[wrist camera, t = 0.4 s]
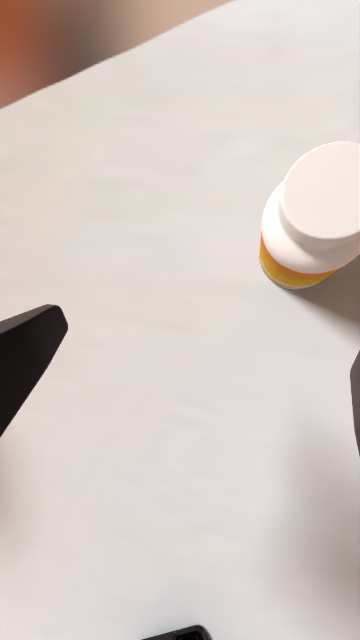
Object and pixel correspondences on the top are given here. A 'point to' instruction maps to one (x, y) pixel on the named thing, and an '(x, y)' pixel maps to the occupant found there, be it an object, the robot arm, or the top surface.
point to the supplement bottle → (313, 218)
